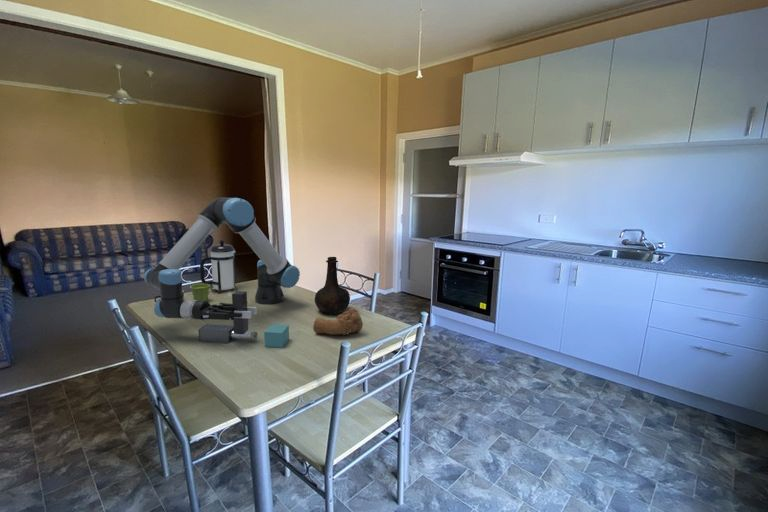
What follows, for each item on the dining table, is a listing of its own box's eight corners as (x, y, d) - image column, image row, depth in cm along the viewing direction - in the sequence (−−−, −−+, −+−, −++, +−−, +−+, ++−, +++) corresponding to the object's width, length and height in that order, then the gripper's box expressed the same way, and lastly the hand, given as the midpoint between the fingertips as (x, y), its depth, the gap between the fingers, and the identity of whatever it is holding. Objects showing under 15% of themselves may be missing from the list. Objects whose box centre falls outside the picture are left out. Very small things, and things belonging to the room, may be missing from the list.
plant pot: (191, 299, 185) (190, 284, 184) (211, 298, 189) (210, 282, 188) (190, 305, 177) (189, 288, 175) (210, 303, 181) (209, 287, 179)
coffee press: (216, 286, 212) (213, 237, 206) (242, 287, 212) (240, 239, 206) (201, 294, 195) (197, 242, 189) (228, 295, 195) (226, 243, 189)
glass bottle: (344, 318, 166) (345, 262, 161) (309, 315, 169) (308, 259, 163) (353, 306, 183) (354, 255, 178) (321, 304, 186) (321, 253, 181)
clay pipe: (352, 350, 142) (368, 327, 154) (349, 329, 137) (366, 308, 149) (314, 339, 149) (332, 319, 161) (310, 320, 144) (329, 300, 156)
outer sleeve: (199, 341, 136) (198, 329, 136) (207, 335, 142) (206, 323, 141) (228, 343, 136) (227, 331, 135) (235, 336, 142) (235, 325, 141)
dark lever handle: (207, 338, 137) (204, 292, 134) (212, 334, 141) (210, 289, 138) (253, 341, 136) (252, 295, 133) (258, 336, 140) (256, 292, 136)
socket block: (264, 346, 134) (264, 332, 133) (272, 337, 142) (272, 324, 141) (282, 347, 134) (281, 333, 133) (289, 338, 142) (288, 325, 140)
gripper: (208, 311, 146) (262, 314, 145) (183, 326, 130) (244, 330, 128) (207, 294, 145) (262, 297, 144) (182, 307, 128) (243, 311, 127)
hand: (253, 312), depth 136 cm, fingers closed on dark lever handle, 4 cm apart
